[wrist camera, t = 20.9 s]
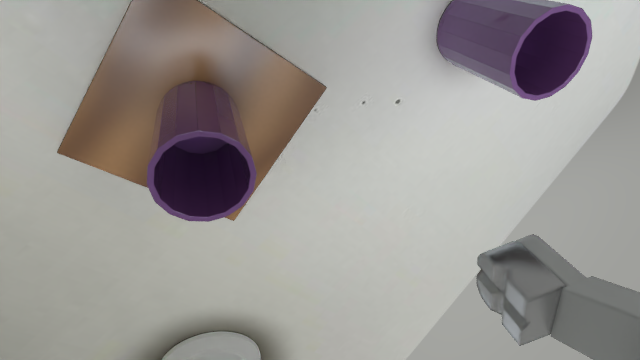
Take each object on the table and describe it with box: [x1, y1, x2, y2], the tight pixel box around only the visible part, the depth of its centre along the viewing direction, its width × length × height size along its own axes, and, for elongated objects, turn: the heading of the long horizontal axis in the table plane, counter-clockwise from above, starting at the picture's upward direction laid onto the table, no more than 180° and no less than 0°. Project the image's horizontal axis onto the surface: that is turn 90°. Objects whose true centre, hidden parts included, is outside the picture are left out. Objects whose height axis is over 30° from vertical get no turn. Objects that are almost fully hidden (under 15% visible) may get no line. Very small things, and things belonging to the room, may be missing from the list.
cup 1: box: [147, 81, 257, 221], centre depth 29 cm, size 7×7×10 cm
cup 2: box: [437, 0, 592, 100], centre depth 32 cm, size 7×7×10 cm
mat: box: [57, 0, 326, 221], centre depth 33 cm, size 16×16×1 cm
